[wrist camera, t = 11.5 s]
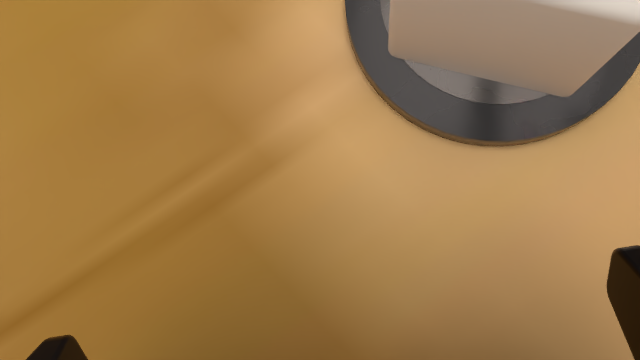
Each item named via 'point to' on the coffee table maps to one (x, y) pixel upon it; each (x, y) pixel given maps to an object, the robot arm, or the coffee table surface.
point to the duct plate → (474, 89)
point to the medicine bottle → (514, 38)
